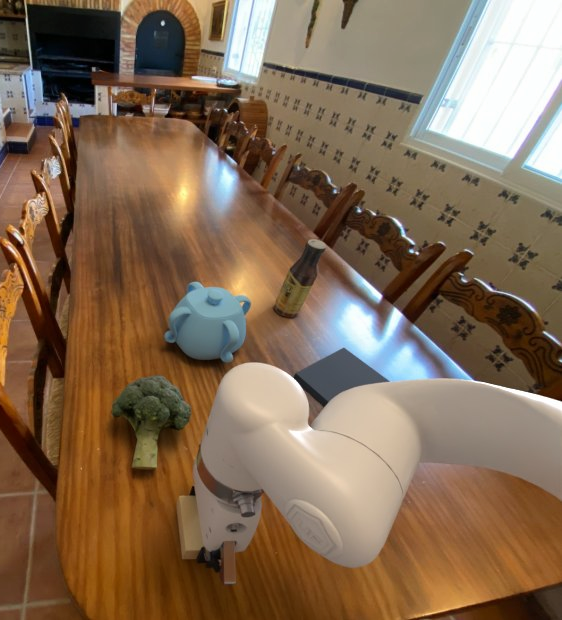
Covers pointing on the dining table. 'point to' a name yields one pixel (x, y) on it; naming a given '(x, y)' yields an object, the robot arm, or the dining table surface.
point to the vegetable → (151, 414)
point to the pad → (189, 527)
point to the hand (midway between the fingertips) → (203, 528)
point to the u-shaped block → (336, 375)
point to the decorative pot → (209, 323)
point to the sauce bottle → (299, 280)
